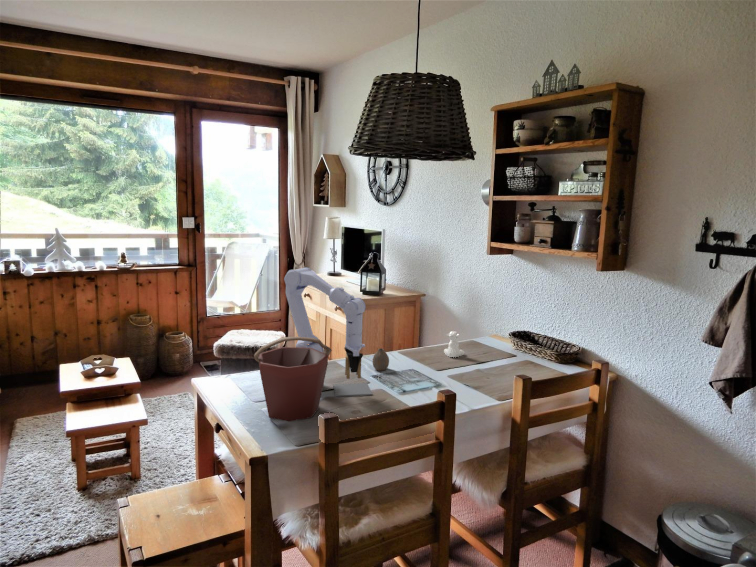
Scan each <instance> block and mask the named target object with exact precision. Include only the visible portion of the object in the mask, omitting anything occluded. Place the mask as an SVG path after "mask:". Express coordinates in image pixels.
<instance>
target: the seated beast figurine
mask: <svg viewBox="0 0 756 567" xmlns="http://www.w3.org/2000/svg"><path fill="white" fill-rule="evenodd" d="M459 336H460V333H458V332H457V331H456V330H452V331H450V332H449V333H446V337H447V338H448V339H449V343H448V346H447V348H444V350H443V353H445V356H446V357H448V356H449V357H448V358H450V357H453V358H452V359H457V358H456V357H458V358H459V356H460V357H462V356H463V355H464V354H465V352H466V351H464V350H463V349H460V345H459V341H458V339H459ZM454 357H455V358H454Z"/></svg>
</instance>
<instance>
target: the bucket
mask: <svg viewBox="0 0 756 567" xmlns="http://www.w3.org/2000/svg"><path fill="white" fill-rule="evenodd" d="M298 340H302V341H310V342H315V343H319V345H320V346H321V347H322V348H323V349H324V351H323V352H320V351H318V350H315V349H313V348H303V347H296V346H292V347H291V346H290V347H289V346H281V347H277V348H274V349H271V350H270V348H271V347H274V346H276V345H278V344H281V343H284V342H290V341H298ZM268 349H269V350H268ZM266 350H267V351H266ZM331 353H332V348H330V346H328V345H326V344H324V343H323V342H322V340H320V338H318V339H315V338H308V337H298V336H286V337H281V338H278V339H276V340H273V341H270V342H269V343H266V344H264V345H262V346H261V347H259V349H258V350H257V351H256V352H255V353H254V355H253V356H254V357H253V358H254V360H255V361H256V362H257V363H258V367H259V374H260V380H261V384H262V389H263V393H264V394H263V395H264V399H265V403H266V409H267V414H268V418H271V419H276V420H278V421H279V420H280V421H283V422H288V423H291V422H296V421H301V420H306V419H312V418H313V416H314V415H315V414H316V412H317V411H318V410H319V407H320V402H321V397H322V393H323V389H324V382H325V378H326V375H327V371H328V370H327V369H328V365H329V356H330V354H331Z"/></svg>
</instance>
